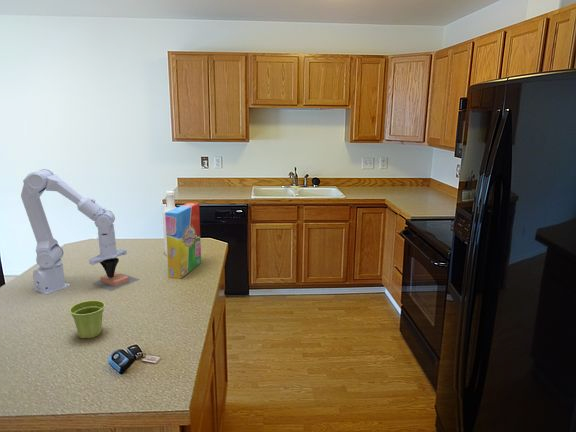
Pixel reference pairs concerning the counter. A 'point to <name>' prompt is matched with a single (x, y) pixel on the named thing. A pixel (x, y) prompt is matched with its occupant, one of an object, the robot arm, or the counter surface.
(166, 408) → the counter surface
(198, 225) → the game box
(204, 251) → the counter surface
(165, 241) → the bottle
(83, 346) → the counter surface
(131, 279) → the mat
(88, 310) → the plant pot
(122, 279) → the block
